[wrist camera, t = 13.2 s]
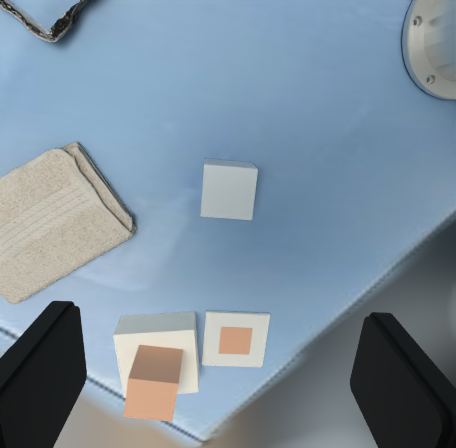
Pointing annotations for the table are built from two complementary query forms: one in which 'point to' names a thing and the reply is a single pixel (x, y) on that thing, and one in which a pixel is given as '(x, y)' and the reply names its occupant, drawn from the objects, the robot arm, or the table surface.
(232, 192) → the grey blue block
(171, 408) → the terracotta block
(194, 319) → the base block
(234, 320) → the card
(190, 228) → the table surface
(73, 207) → the washcloth
